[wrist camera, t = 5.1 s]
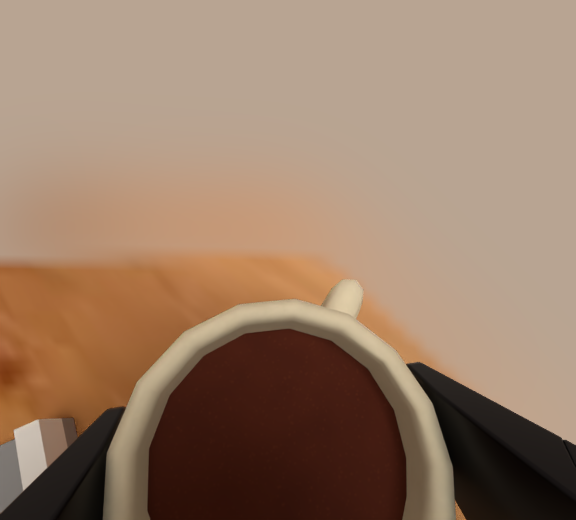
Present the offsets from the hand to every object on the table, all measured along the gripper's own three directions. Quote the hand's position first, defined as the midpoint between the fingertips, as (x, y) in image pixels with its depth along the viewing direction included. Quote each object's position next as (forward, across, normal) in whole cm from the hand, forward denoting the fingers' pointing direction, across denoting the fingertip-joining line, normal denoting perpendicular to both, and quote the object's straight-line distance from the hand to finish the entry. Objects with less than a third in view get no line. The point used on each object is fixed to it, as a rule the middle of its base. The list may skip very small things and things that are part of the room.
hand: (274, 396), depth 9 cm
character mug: (+7, 0, +9) cm, 12 cm away
